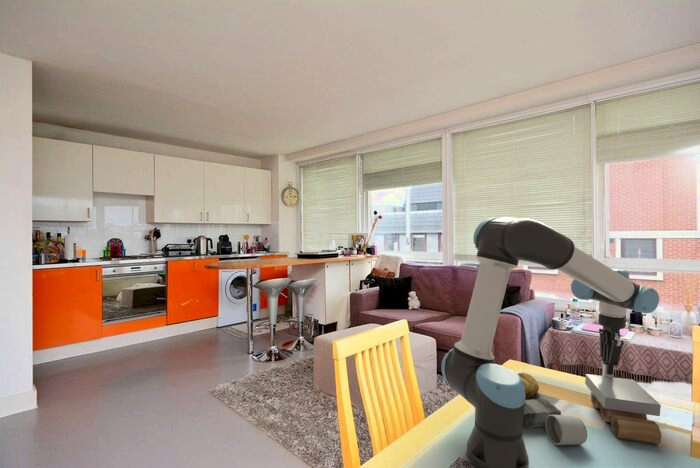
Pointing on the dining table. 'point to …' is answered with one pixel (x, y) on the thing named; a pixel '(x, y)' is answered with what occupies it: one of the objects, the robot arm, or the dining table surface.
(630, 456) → the dining table surface
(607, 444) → the dining table surface
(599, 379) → the slab
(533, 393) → the bread roll
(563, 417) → the ceramic mug
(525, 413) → the stone block
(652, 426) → the loose roller
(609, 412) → the front roller
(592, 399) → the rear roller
